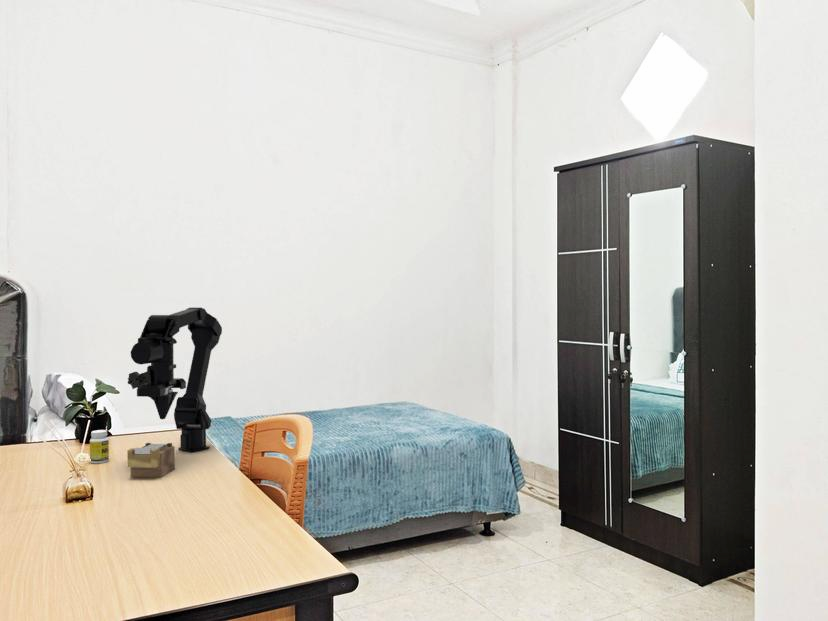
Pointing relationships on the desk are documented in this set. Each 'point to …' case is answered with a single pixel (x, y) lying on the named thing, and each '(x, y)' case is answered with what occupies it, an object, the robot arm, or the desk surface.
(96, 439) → the supplement bottle
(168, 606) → the desk surface
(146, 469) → the walnut box
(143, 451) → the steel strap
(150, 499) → the desk surface
